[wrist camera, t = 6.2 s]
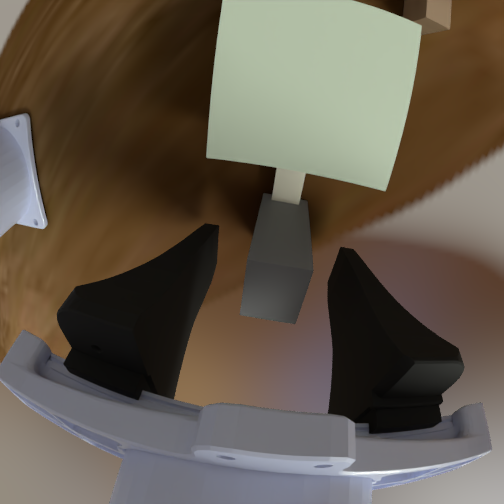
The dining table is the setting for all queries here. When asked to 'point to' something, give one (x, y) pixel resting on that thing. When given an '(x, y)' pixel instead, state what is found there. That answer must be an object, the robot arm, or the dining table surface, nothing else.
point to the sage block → (306, 119)
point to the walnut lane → (429, 14)
